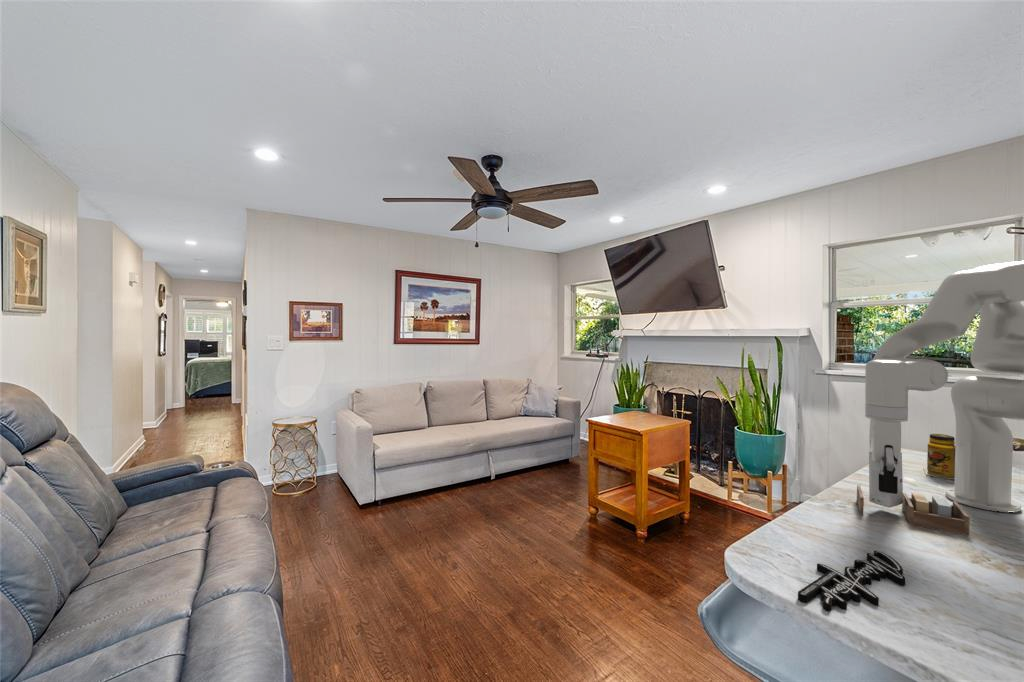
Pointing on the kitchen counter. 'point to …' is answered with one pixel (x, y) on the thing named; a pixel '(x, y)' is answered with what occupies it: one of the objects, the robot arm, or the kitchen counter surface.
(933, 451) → the condiment
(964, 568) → the kitchen counter surface
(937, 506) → the slate offcut
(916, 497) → the oak offcut
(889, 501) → the skincare box
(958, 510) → the walnut rack
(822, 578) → the nameplate
